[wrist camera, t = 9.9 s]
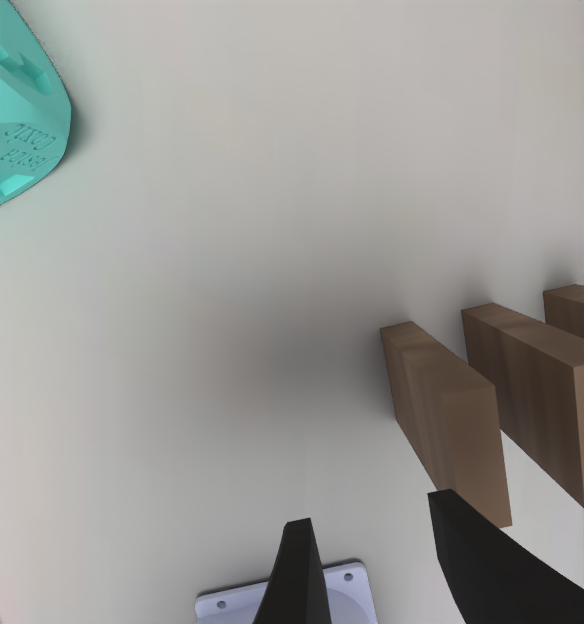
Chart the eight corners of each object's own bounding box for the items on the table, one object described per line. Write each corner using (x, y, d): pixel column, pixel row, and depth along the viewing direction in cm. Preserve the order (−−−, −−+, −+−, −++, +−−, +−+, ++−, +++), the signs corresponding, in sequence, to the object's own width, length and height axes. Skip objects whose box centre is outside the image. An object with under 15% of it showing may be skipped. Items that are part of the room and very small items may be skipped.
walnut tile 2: (474, 404, 22) (585, 509, 14) (461, 310, 21) (573, 367, 13) (505, 397, 22) (633, 498, 14) (493, 302, 21) (625, 355, 13)
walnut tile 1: (397, 421, 22) (464, 536, 14) (379, 328, 21) (442, 396, 13) (427, 414, 22) (512, 525, 14) (412, 321, 21) (494, 385, 13)
